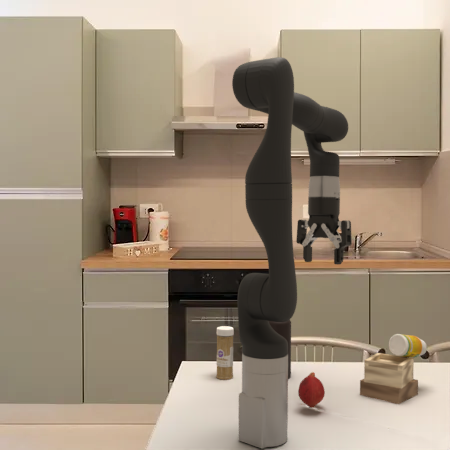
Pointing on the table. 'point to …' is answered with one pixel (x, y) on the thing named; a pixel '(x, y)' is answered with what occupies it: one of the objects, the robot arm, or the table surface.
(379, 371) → the tower top
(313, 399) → the onion
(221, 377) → the sprinkles bottle
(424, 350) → the supplement bottle
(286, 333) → the vinegar
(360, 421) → the table surface
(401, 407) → the table surface
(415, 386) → the tower base
